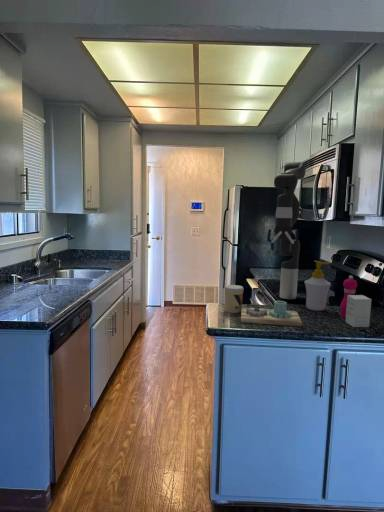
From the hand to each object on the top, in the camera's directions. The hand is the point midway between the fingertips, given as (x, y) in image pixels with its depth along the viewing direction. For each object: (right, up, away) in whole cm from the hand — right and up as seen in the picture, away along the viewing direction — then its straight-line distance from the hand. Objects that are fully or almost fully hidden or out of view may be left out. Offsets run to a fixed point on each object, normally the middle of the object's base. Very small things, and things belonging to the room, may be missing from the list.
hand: (281, 251), depth 167 cm
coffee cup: (-23, -30, +4) cm, 38 cm away
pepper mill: (+31, -32, -1) cm, 44 cm away
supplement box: (+30, -33, -12) cm, 46 cm away
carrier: (-7, -31, -7) cm, 33 cm away
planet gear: (-3, -29, -8) cm, 31 cm away
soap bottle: (+20, -30, +10) cm, 37 cm away
